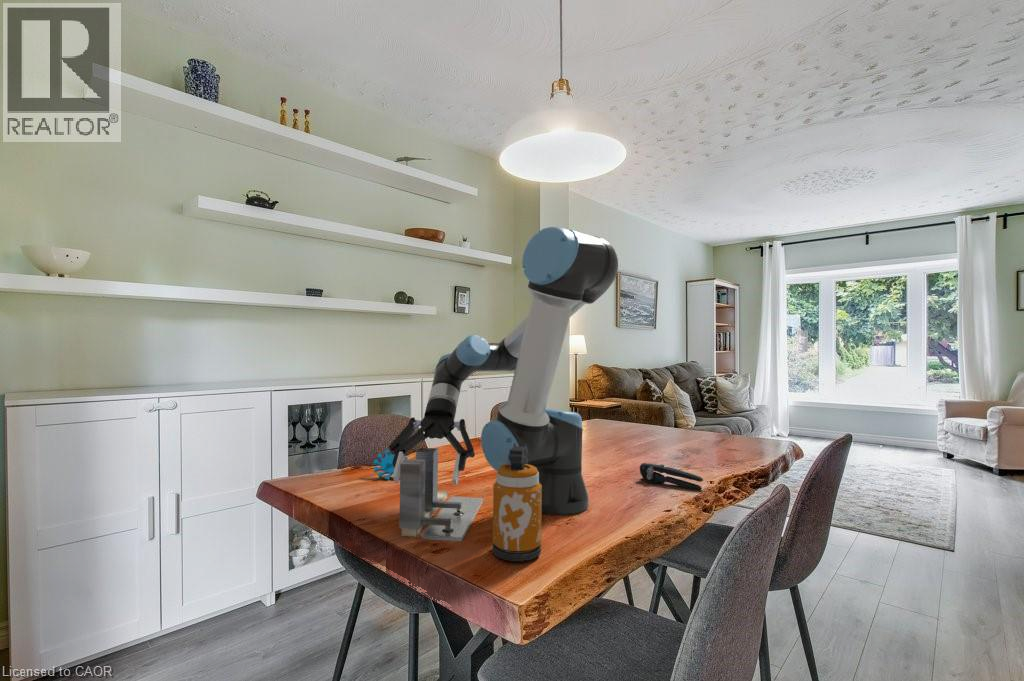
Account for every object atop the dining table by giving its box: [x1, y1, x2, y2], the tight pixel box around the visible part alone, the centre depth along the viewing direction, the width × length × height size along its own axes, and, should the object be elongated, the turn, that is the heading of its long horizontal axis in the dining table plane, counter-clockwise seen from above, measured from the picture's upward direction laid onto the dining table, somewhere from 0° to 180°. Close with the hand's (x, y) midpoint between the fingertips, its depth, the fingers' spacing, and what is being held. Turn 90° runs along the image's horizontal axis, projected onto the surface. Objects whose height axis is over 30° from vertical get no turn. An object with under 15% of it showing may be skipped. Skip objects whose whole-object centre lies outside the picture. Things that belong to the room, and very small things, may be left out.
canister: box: [492, 443, 542, 562], centre depth 91 cm, size 9×11×20 cm
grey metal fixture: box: [398, 458, 451, 538], centre depth 110 cm, size 26×10×14 cm, turn 174°
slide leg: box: [415, 447, 462, 512], centre depth 109 cm, size 4×10×14 cm, turn 84°
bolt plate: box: [421, 495, 484, 542], centre depth 108 cm, size 25×8×1 cm, turn 174°
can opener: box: [639, 462, 704, 491], centre depth 137 cm, size 18×7×6 cm, turn 54°
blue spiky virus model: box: [373, 449, 409, 481], centre depth 142 cm, size 11×6×10 cm
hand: (424, 481), depth 108 cm, fingers open, 13 cm apart
